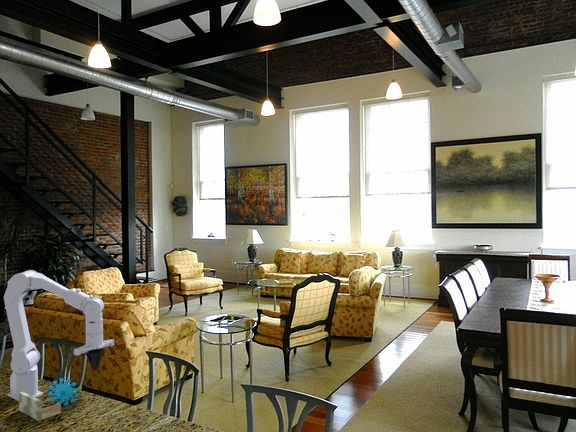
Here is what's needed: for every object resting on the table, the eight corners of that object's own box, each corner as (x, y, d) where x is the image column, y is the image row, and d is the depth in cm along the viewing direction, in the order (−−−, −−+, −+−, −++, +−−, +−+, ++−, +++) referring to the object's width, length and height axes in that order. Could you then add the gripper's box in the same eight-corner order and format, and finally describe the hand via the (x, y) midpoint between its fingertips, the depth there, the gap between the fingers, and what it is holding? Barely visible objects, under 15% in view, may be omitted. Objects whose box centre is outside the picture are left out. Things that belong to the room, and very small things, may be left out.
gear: (51, 406, 149) (46, 379, 155) (45, 416, 152) (40, 388, 157) (85, 401, 157) (80, 374, 162) (79, 409, 160) (73, 383, 165)
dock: (19, 410, 150) (19, 392, 150) (41, 403, 156) (40, 385, 156) (38, 421, 143) (38, 402, 142) (61, 412, 148) (60, 394, 148)
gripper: (81, 339, 156) (82, 378, 157) (118, 329, 168) (119, 366, 168) (70, 335, 160) (71, 374, 161) (107, 326, 172) (108, 362, 173)
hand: (95, 369), depth 165 cm, fingers closed
